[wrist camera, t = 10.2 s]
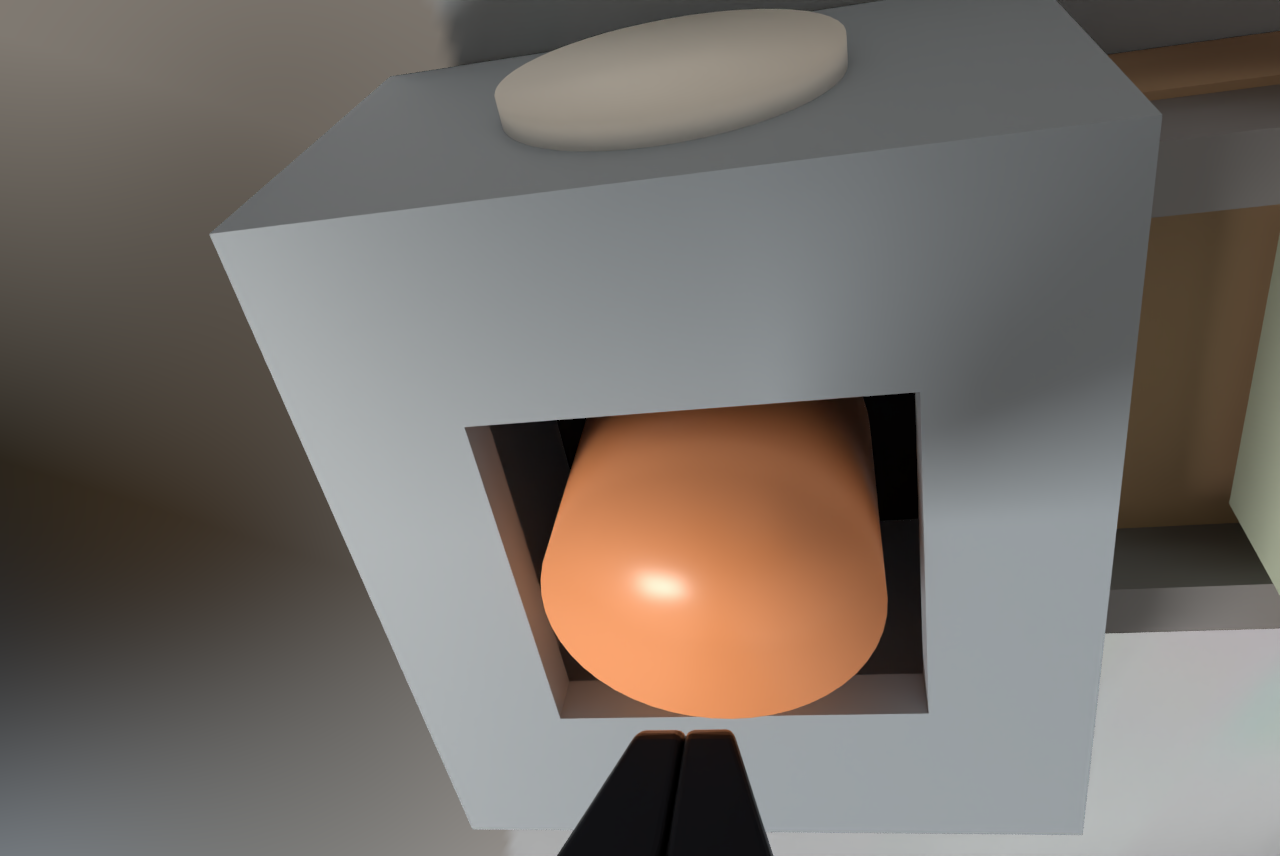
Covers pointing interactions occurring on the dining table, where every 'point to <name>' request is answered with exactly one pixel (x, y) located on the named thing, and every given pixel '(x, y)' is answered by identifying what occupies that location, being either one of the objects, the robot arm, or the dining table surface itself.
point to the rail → (1199, 339)
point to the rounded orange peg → (721, 556)
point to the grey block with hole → (733, 372)
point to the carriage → (1263, 443)
